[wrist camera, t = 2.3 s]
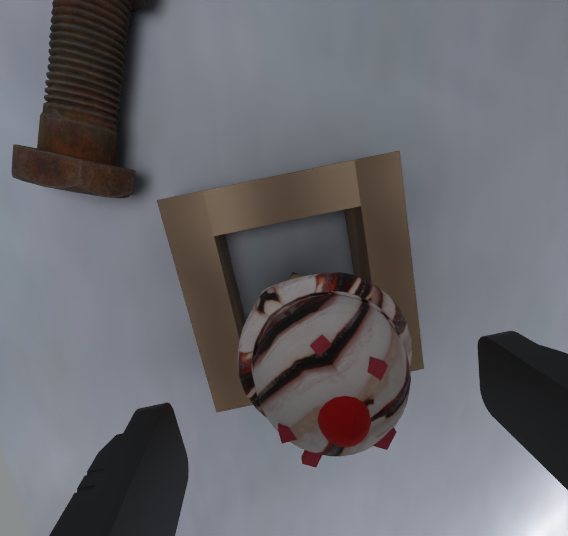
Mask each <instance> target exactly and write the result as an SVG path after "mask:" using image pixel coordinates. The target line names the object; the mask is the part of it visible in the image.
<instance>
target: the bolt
mask: <svg viewBox="0 0 568 536" xmlns="http://www.w3.org/2000/svg"><path fill="white" fill-rule="evenodd" d="M146 1H147V0H54V1H53V3H52V5H53V10H52V15H53V16H52V18H51V22H52V25H51V27H50V30H51V31H52V33H51V34H50V36H49V37H50V39H51V41H50V42H49V45H50V47H51V49H49V53H50V55H51V56H49V58H48V60H49V62H50V63H51V64H49V65H48V69H49V71H50V72H48V73H46V75H47V77H48V78H49V79H50V80H46V81H45V83H46V85H47V86H49V87H47V88H45V92H46V93H48V94H49V95H45V96H44V99H45V100H46V101H48V102H46V103H44V104H43V112H42V113H41V115H40V124H39V134H38V145H37V149H36V148H31V147H26V146H21V145H13V158H12V176H13V177H14V178H16V179H19V180H22V181H25V182H29V183H33V184H37V185H40V186H44V187H49V188H55V189H60V190H66V191H72V192H77V193H84V194H90V195H96V196H102V197H110V198H127V197H129V196H130V195H131V194H132V193H133V187H134V180H135V173H136V172H135V171H134V170H130V169H126V168H122V167H118V166H114V165H115V157H116V148H117V140H118V134H117V126H116V123H118V120H117V119H116V118H115V117H117V116H119V114H118V113H117V112H116V111H115V110H119V109H120V107H119V106H118V105H117V104H116V103H120V100H119V99H118V97H119V96H121V93H120V91H119V90H121V89H122V86H121V84H120V83H122V82H123V79H122V77H121V76H123V74H124V72H123V70H122V69H124V67H125V66H124V63H123V62H124V61H125V59H126V58H125V57H124V56H123V55H125V54H126V49H125V47H127V42H126V40H127V39H128V35H127V34H126V33H128V32H129V28H128V27H127V26H129V25H130V21H129V18H130V17H131V14H130V12H129V11H131V10H136V9H140V8H142V7H143V6H144V5H145V3H146Z"/></svg>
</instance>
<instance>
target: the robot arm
mask: <svg viewBox="0 0 568 536" xmlns="http://www.w3.org/2000/svg"><path fill="white" fill-rule="evenodd" d="M478 360H479V377H480V391H481V396H482V399H483V402H484V404H485V406H486V408H487V409H488V411H489V412H490V414H491V415H492V416H493V417H494V418H495V419H496V420H497V421H498V422H499V423H500V424H501V425H502V426H503V427H504V428H505V429H506V430H507V431H508V432H509V433H510V434H511V435H512V436H513V437H514V438H515V439H516V440H517V441H518V442H519V443H520V444H521V445H522V446H523V447H524V448H525V449H526V450H527V451H529V452H530V453H531V454H532V455H533V456H534V457H535V458H536V459H537V460H538V461H539V462H540V463H541V464H542V465H543V466H544V467H545V468H546V469H547V470H548V471H549V472H550V473H551V474H552V475H553V476H554V477H555V478H556V479H557V480H558V481H559V482H560V483H561V484H562V485H563V486H564V487H565V488H566V489H567V490H568V354H567V353H564V352H561V351H558V350H554V349H551V348H548V347H545V346H541V345H538V344H536V343H534V342H533V341H531V340H529V339H527V338H526V337H524V336H522V335H520V334H519V333H517V332H515V331H507V332H502V333H497V334H493V335H488V336H483V337H481V338H480V339H479V341H478ZM187 481H188V458H187V453H186V450H185V446H184V443H183V440H182V437H181V433H180V430H179V427H178V424H177V420H176V417H175V414H174V411H173V408H172V406H171V405H170V404H169V403H163V404H158V405H154V406H149V407H144V408H140V409H137V410H136V411H135V413H134V414H133V416H132V418H131V420H130V422H129V424H128V426H127V427H126V429H125V431H124V433H123V434H118V435H116V436H115V437H114V438H113V439H112V440H111V441H110V442H109V443H108V444H107V445H106V446H105V447H104V448H103V449H102V450H101V451H100V452H99V453H98V454H97V456H96V458H95V459H94V461H93V463H92V464H91V466H90V468H89V469H88V471H87V476H84V478H83V480H82V481H81V483H80V485H79V486H78V488H77V493H74V495H73V497H72V498H71V500H70V502H69V503H68V505H67V507H66V508H65V510H64V512H63V513H62V515H61V517H60V519H59V520H58V522H57V524H56V525H55V527H54V529H53V530H52V532H51V534H50V535H49V536H175V533H176V529H177V525H178V520H179V516H180V512H181V507H182V503H183V499H184V495H185V490H186V486H187Z"/></svg>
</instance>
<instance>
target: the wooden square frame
mask: <svg viewBox="0 0 568 536" xmlns="http://www.w3.org/2000/svg"><path fill="white" fill-rule="evenodd" d="M157 203H158V206H159V210H160V213H161V217H162V220H163V224H164V228H165V231H166V235H167V238H168V242H169V245H170V249H171V252H172V256H173V259H174V263H175V267H176V270H177V274H178V277H179V281H180V284H181V288H182V291H183V295H184V299H185V302H186V306H187V309H188V313H189V316H190V320H191V323H192V327H193V330H194V334H195V338H196V341H197V345H198V348H199V352H200V355H201V359H202V362H203V366H204V369H205V373H206V377H207V380H208V384H209V387H210V391H211V394H212V398H213V401H214V405H215V408H216V412H221V411H226V410H230V409H235V408H240V407H244V406H249V405H253V403H252V402H251V401H250V399H249V398H248V397H247V395H246V394H245V392H244V390H243V387H242V384H241V381H240V378H239V371H238V348H239V341H240V337H241V333H242V329H243V327H244V325H245V322H246V321H245V317H244V313H243V309H242V305H241V301H240V297H239V292H238V288H237V284H236V280H235V276H234V272H233V268H232V263H231V259H230V255H229V251H228V247H227V243H226V238H225V234H227V233H232V232H237V231H242V230H247V229H252V228H256V227H261V226H266V225H271V224H276V223H281V222H286V221H291V220H295V219H300V218H305V217H310V216H315V215H320V214H325V213H329V212H334V211H339V210H344V211H345V217H346V224H347V230H348V237H349V243H350V250H351V256H352V263H353V269H354V275H356V276H358V277H360V278H362V279H365V280H367V281H369V282H371V283H373V284H375V285H376V286H377V287H378V288H380V289H381V290H382V291H384V292H385V293H386V294H388V295H389V296H390V298H391V299H392V300H393V301H394V302H395V304H396V305H397V306H398V307H399V309H400V311H401V313H402V315H403V317H404V319H405V321H406V323H407V325H408V329H409V333H410V337H411V348H412V357H411V364H410V371H415V370H419V369H424V365H423V356H422V347H421V338H420V329H419V320H418V311H417V302H416V293H415V284H414V275H413V266H412V257H411V248H410V239H409V231H408V222H407V213H406V204H405V195H404V186H403V177H402V168H401V159H400V151H396V152H391V153H386V154H381V155H376V156H371V157H367V158H362V159H357V160H352V161H347V162H342V163H337V164H332V165H327V166H322V167H317V168H313V169H308V170H303V171H298V172H293V173H288V174H283V175H278V176H273V177H268V178H264V179H259V180H254V181H249V182H244V183H239V184H234V185H229V186H224V187H219V188H214V189H210V190H205V191H200V192H195V193H190V194H185V195H180V196H175V197H170V198H165V199H161V200H157Z"/></svg>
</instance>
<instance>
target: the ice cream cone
mask: <svg viewBox="0 0 568 536" xmlns="http://www.w3.org/2000/svg"><path fill="white" fill-rule="evenodd" d="M411 357H412V348H411V337H410V333H409V329H408V325H407V323H406V321H405V319H404V317H403V315H402V313H401V311H400V309H399V307H398V306H397V305H396V304H395V302H394V301H393V300H392V299H391V298H390V296H389V295H388V294H386V293H385V292H384V291H382V290H381V289H380V288H378V287H377V286H376V285H375V284H373V283H371V282H369V281H367V280H365V279H362V278H360V277H358V276H356V275H351V274H346V273H341V272H336V273H320V274H314V275H307V276H302V275H299V274H297V273H294V272H293V273H292V275H291V277H290V278H289V280H287V281H284V282H280V283H277V284H274V285H272V286H270V287H267V288H265V289H264V290H263V291H262V292H261V294H260V296H259V298H258V299H257V301H256V303H255V305H254V306H253V308H252V310H251V312H250V314H249V316H248V318H247V320H246V322H245V325H244V327H243V329H242V333H241V337H240V341H239V348H238V371H239V378H240V381H241V384H242V387H243V390H244V392H245V394H246V395H247V397H248V398H249V399H250V401H251V402H252V403H253V405H254V406H255V408H256V409H257V410H259V411H260V412H261V413H262V414H263V415H264V416H265V417H266V418H268V419H269V421H270V422H271V424H272V425H273V427H274V428H275V429H276V430H277V431H278V432H279V435H280V438H281V442H282V443H285V442H289V441H290V442H291V443H293V444H295V445H296V446H298V447H299V448H301V449H304V453H303V455H302V464H305V465H309V466H312V467H317V465H318V462H319V460H320V458H321V456H322V455H327V456H346V455H352V454H356V453H359V452H362V451H365V450H367V449H368V448H370V447H372V446H376V447H379V448H383V449H386V450H387V449H388V447H389V445H390V443H391V441H392V440H393V438H394V436H395V434H396V430H395V429H394V426H395V425H396V424H397V422H398V421H399V419H400V417H401V416H402V414H403V412H404V409H405V407H406V404H407V400H408V395H409V389H410V383H411V376H410V364H411Z"/></svg>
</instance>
